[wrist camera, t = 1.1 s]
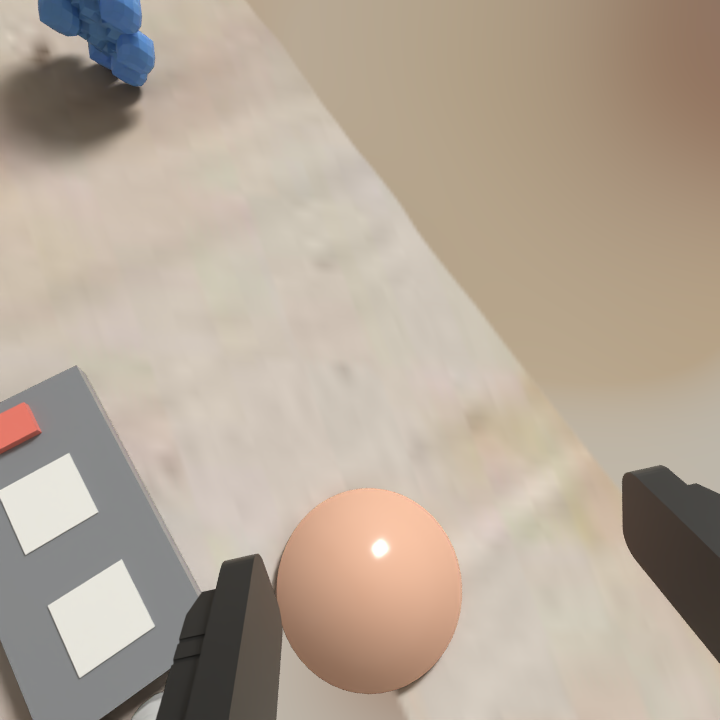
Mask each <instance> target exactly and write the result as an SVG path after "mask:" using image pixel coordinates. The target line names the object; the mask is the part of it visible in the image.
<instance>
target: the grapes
mask: <svg viewBox="0 0 720 720" xmlns="http://www.w3.org/2000/svg"><path fill="white" fill-rule="evenodd" d="M38 11H39V17H40V21H41V22H43V23H44V24H46V25H47V26H49V27H50V28H52V29H54V30H55V31H57V32H59V33H61V34H63V35H65V36H77V35H79V36H81V37H82V38H84V39H85V40H87V42H88V47H89V55H90V58H91V59H92V60H94V61H95V62H97V63H98V64H100V65H102V66H103V67H105V68H107V69H110V70H112V74H113V75H114V76H116V77H117V78H119V79H120V80H122V81H124V82H125V83H127V84H130V85H132V86H142V85H143V84H144V83H145V82H146V80H147V74H148V73H150V72H151V70H152V69H153V68H154V63H155V53H154V45H153V41H152V40H151V39H149V38H148V37H147V36H146V35H144V34H143V33H142V32H140V31H139V29H140V27H141V21H142V13H141V5H140V0H38Z"/></svg>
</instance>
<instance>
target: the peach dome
mask: <svg viewBox="0 0 720 720" xmlns="http://www.w3.org/2000/svg"><path fill="white" fill-rule="evenodd" d="M461 601H462V582H461V573H460V569H459V564H458V560H457V557H456V554H455V551H454V548H453V546H452V544H451V542H450V540H449V538H448V536H447V535H446V533H445V532H444V530H443V529H442V527H441V526H440V525H439V523H438V522H437V521H436V520H435V518H434V517H433V516H432V515H431V514H430V513H428V512H427V511H426V510H425V509H424V508H423V507H421V506H420V505H419V504H417V503H416V502H414V501H412V500H411V499H409V498H407V497H405V496H403V495H400V494H398V493H395V492H391V491H387V490H382V489H374V488H368V489H356V490H350V491H347V492H343V493H340V494H337V495H335V496H333V497H331V498H329V499H327V500H325V501H324V502H322V503H321V504H319V505H318V506H316V507H315V508H314V509H313V510H312V511H310V512H309V513H308V514H307V515H306V516H305V518H304V519H303V520H302V521H301V522H300V523H299V525H298V526H297V527H296V529H295V530H294V531H293V533H292V535H291V537H290V539H289V540H288V542H287V545H286V547H285V550H284V552H283V554H282V558H281V562H280V565H279V570H278V577H277V602H278V605H279V609H280V614H281V621H282V627H283V629H284V632H285V635H286V637H287V639H288V641H289V643H290V645H291V647H292V648H293V650H294V651H295V653H296V654H297V656H298V657H299V659H300V660H301V661H302V662H303V663H304V664H305V665H306V666H307V667H308V668H309V669H310V670H311V671H312V672H313V673H314V674H316V675H317V676H318V677H319V678H321V679H322V680H324V681H326V682H327V683H329V684H331V685H333V686H335V687H338V688H341V689H343V690H346V691H351V692H355V693H364V694H376V693H384V692H389V691H393V690H396V689H399V688H401V687H404V686H406V685H408V684H410V683H412V682H413V681H415V680H417V679H419V678H420V677H421V676H422V675H424V674H425V673H426V672H427V671H429V670H430V668H431V667H432V666H433V665H434V664H435V663H436V662H437V661H438V660H439V658H440V657H441V656H442V654H443V653H444V651H445V650H446V648H447V646H448V645H449V643H450V641H451V639H452V637H453V634H454V632H455V629H456V626H457V623H458V619H459V615H460V609H461Z"/></svg>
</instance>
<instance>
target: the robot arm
mask: <svg viewBox="0 0 720 720" xmlns="http://www.w3.org/2000/svg"><path fill="white" fill-rule="evenodd" d="M622 511H623V534H624V538H625V541H626V544H627V546H628V548H629V550H630V552H631V554H632V555H633V557H634V558H635V560H636V561H637V562H638V564H639V565H640V566H641V567H642V568H643V570H644V571H645V572H646V573H647V575H648V576H649V577H650V578H651V579H652V581H653V582H654V583H655V584H656V586H657V587H658V588H659V589H660V591H661V592H662V593H663V594H664V595H665V597H666V598H667V599H668V600H669V602H670V603H671V604H672V605H673V607H674V608H675V609H676V610H677V611H678V613H679V614H680V615H681V616H682V618H683V619H684V620H685V621H686V623H687V624H688V625H689V626H690V627H691V629H692V630H693V631H694V632H695V634H696V635H697V636H698V637H699V639H700V640H701V641H702V642H703V643H704V645H705V646H706V647H707V648H708V650H709V651H710V652H711V653H712V655H713V656H714V657H715V658H716V659H717V661H718V662H719V663H720V494H718V493H716V492H714V491H712V490H710V489H707V488H705V487H703V486H701V485H699V484H692V485H687V484H686V483H684V482H683V481H682V480H681V479H680V478H679V477H677V476H676V475H675V474H674V473H673V472H672V471H670V470H669V469H668V468H667V467H665V466H662V465H659V466H654V467H650V468H646V469H641V470H636V471H632V472H628V473H626V474H624V476H623V479H622ZM281 646H282V621H281V614H280V609H279V605H278V602H277V599H276V596H275V594H274V591H273V588H272V585H271V582H270V580H269V577H268V574H267V571H266V568H265V566H264V563H263V560H262V558H261V556H260V555H259V554H254V555H249V556H245V557H240V558H236V559H231V560H227V561H224V562H223V563H222V565H221V569H220V573H219V577H218V582H217V586H216V589H214V590H209V591H205V592H201V594H200V595H199V597H198V598H197V600H196V601H195V603H194V604H193V605H192V607H191V608H190V610H189V611H188V613H187V614H186V617H185V620H184V623H183V627H182V630H181V634H180V637H179V644H177V648H176V651H175V654H174V658H173V665H171V668H170V672H169V675H168V679H167V682H166V685H165V689H164V692H163V696H162V699H161V703H160V706H159V710H158V713H157V717H156V720H276V714H277V700H278V687H279V674H280V660H281Z"/></svg>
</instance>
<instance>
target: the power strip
mask: <svg viewBox="0 0 720 720" xmlns="http://www.w3.org/2000/svg"><path fill="white" fill-rule="evenodd" d="M200 594H201V591H200V589H199V587H198V585H197V583H196V581H195V580H194V578H193V576H192V574H191V572H190V570H189V568H188V566H187V564H186V563H185V561H184V559H183V557H182V555H181V553H180V551H179V549H178V547H177V546H176V544H175V542H174V540H173V538H172V536H171V534H170V532H169V531H168V529H167V527H166V525H165V523H164V521H163V519H162V517H161V515H160V514H159V512H158V510H157V508H156V506H155V504H154V502H153V500H152V498H151V497H150V495H149V493H148V491H147V489H146V487H145V485H144V483H143V481H142V480H141V478H140V476H139V474H138V472H137V470H136V468H135V466H134V465H133V463H132V461H131V459H130V457H129V455H128V453H127V451H126V449H125V448H124V446H123V444H122V442H121V440H120V438H119V436H118V434H117V432H116V431H115V429H114V427H113V425H112V423H111V421H110V419H109V417H108V416H107V414H106V412H105V410H104V408H103V406H102V404H101V402H100V400H99V399H98V397H97V395H96V393H95V391H94V389H93V387H92V385H91V383H90V382H89V380H88V378H87V376H86V374H85V373H84V372H83V371H82V370H81V369H80V368H79V367H78V366H74V367H72V368H70V369H68V370H66V371H64V372H62V373H60V374H57V375H55V376H53V377H51V378H49V379H47V380H45V381H43V382H41V383H39V384H37V385H35V386H33V387H31V388H29V389H27V390H25V391H23V392H21V393H19V394H17V395H15V396H12V397H10V398H8V399H6V400H4V401H2V402H0V640H1V643H2V645H3V648H4V650H5V653H6V655H7V658H8V660H9V663H10V665H11V667H12V670H13V672H14V675H15V677H16V680H17V682H18V685H19V687H20V690H21V692H22V695H23V697H24V699H25V702H26V704H27V707H28V709H29V712H30V714H31V717H32V719H33V720H100V719H101V718H102V717H104V716H105V715H106V714H108V713H109V712H111V711H112V710H113V709H115V708H116V707H118V706H119V705H120V704H122V703H123V702H125V701H126V700H127V699H129V698H130V697H131V696H133V695H134V694H136V693H137V692H138V691H140V690H141V689H143V688H144V687H145V686H147V685H148V684H150V683H151V682H152V681H154V680H155V679H156V678H158V677H159V676H161V675H162V674H163V673H165V672H166V671H168V670H169V669H170V668H171V665H173V658H174V654H175V651H176V648H177V644H179V637H180V634H181V630H182V627H183V623H184V620H185V617H186V614H187V613H188V611H189V610H190V608H191V607H192V605H193V604H194V603H195V601H196V600H197V598H198V597H199V595H200Z"/></svg>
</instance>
